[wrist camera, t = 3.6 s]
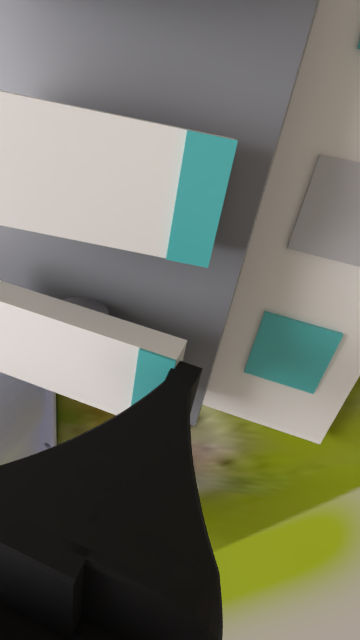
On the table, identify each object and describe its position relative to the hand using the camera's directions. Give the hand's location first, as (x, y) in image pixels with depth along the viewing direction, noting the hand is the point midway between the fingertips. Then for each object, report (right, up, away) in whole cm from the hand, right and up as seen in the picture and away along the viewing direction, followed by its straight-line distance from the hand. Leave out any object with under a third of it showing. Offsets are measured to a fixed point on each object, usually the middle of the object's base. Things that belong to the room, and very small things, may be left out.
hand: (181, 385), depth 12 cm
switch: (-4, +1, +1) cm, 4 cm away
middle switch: (-3, +7, -1) cm, 8 cm away
